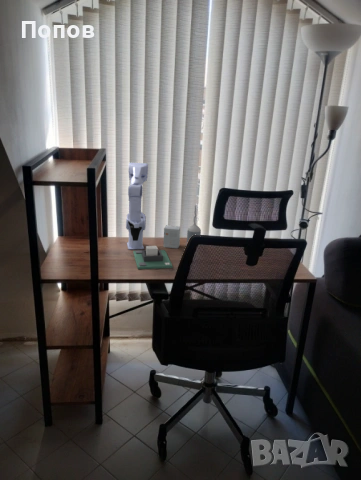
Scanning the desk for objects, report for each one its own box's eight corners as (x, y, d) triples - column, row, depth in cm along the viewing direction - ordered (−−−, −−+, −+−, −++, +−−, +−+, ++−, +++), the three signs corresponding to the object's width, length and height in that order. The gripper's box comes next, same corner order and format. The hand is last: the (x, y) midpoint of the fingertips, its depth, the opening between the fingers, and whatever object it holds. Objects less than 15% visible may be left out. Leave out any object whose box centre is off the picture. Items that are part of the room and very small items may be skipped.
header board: (133, 252, 196) (133, 246, 195) (164, 251, 200) (165, 245, 199) (137, 269, 178) (137, 262, 177) (172, 267, 181) (172, 260, 180)
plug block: (145, 256, 190) (146, 245, 188) (156, 256, 191) (156, 245, 189) (146, 259, 186) (147, 249, 184) (157, 259, 187) (158, 248, 185)
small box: (179, 245, 210) (180, 226, 207) (178, 248, 205) (179, 229, 202) (164, 243, 211) (165, 224, 208) (163, 247, 206) (163, 228, 202)
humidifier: (185, 249, 205) (189, 202, 197) (201, 250, 204) (205, 204, 196) (183, 254, 198) (186, 206, 189) (199, 256, 197) (203, 208, 188)
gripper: (125, 206, 190) (124, 233, 195) (127, 214, 177) (127, 243, 181) (139, 206, 192) (139, 233, 196) (143, 214, 179) (142, 242, 183)
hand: (134, 237), depth 189 cm, fingers open, 7 cm apart
